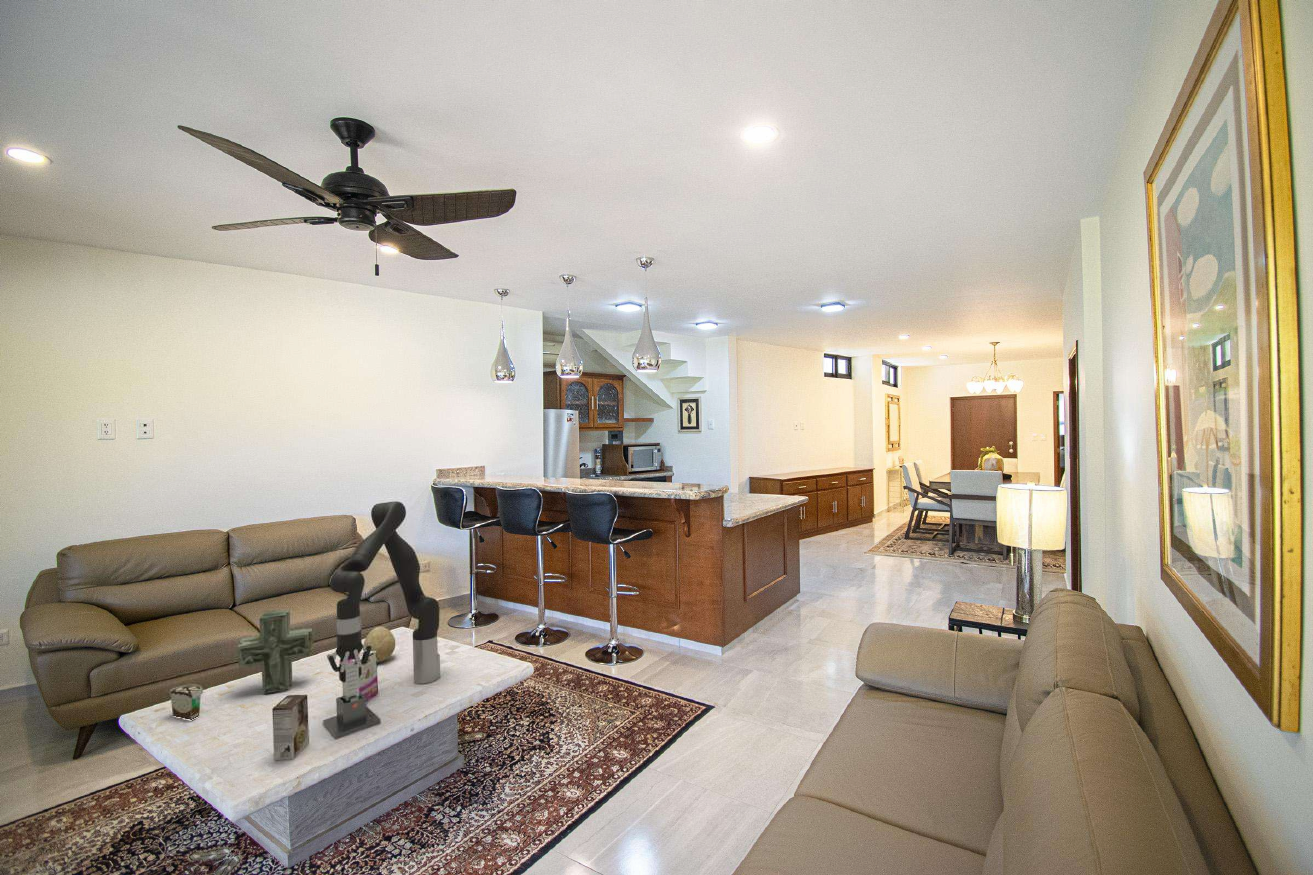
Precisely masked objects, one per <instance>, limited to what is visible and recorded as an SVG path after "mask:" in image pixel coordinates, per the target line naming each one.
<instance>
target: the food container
mask: <svg viewBox="0 0 1313 875" xmlns="http://www.w3.org/2000/svg"><path fill="white" fill-rule="evenodd" d="M202 694H204V690H203V687H202V686H201V685H200V684H196V683H193V684H184V685H180V686H177V687H175V686H174V687H173V688H170V689H169V694H168V695H170V702H171V709H172V710H171V711H172V712H171V713H172V717H173V716H176V717H181V718H185V719H190V720H192V719H194V718H196V717H198V718H199V717H200V713H201V712H200V710H201V695H202ZM196 719H197V718H196ZM194 720H195V719H194ZM192 721H193V720H192Z"/></svg>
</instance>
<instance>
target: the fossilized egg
mask: <svg viewBox="0 0 1313 875" xmlns="http://www.w3.org/2000/svg"><path fill="white" fill-rule="evenodd" d="M367 644H368V645H370V646H371V651H376V655H377V663H382V662H384V661H387V660H388V659H389V658H390V657H391V656H392V655H393V653H394V651H395V650H396V638H395V636H394V634H393V632H392V631H390V630H389V629H388V628H387V627H384V626H377V627H374V628H373V629H372V630H371V631H369V633H368V634H367V635H366V637H365V639H364V640H363V645H367Z"/></svg>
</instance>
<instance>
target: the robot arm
mask: <svg viewBox="0 0 1313 875" xmlns="http://www.w3.org/2000/svg"><path fill="white" fill-rule="evenodd" d="M370 511H371V512H370V515H371V516H370V517H371V520H372V523H373V526H374V528H375V530H373V532H371V534H369V535H368V536H366V537H365V538H364V539H363V540H361V542H360V543H359V544H358V546H357V547H356V548H355V550H354V551H353V552H352V554H351V556H350V557H349V559H348V560H346V561H345V562H344V563H343V564H342V565H341V566H339V567H338V568H337V569H336V571H334V572H333V574H332V576H331V577H330V581H329V587H330V589H331V590H332V591H333V592H335V593H348V594H347V597H346V598H343V599H340V600H338V601H337V603H336V625H335V626H336V649H335V652H332V653H331V654H329V653H328V654H327V655H326V658H327V660H328V663H329V664H330V667H331V669H332V670H333V671H334V673H337V672H338V679H339V681H341V683H342V682H343V683H344V682H345V671H344V670H345V666H346V664H347V661H349V660H350V659H354V661H355V662H356V663H358V668H359V678H360V676H361V674H362V670H361V667H362V665H363V664H366V663H367V661H368V658H369V654H370V651H371V646H370V645H368V644H367V645H364V643H363V642H362V640H363V638H362V619H361V607H360V606H361V603H360V602H361V599H362V596H363V592H364V586H365V581H366V580H365V577H364V575H363V574H362V572H366V571H367V570H368V569H369V568H370V566H371V564H372V563H373V561H374V559H375V558H376V556H377V554H378V552H380V550H381V548H382V547H383V546H384V547H385V549H386V553H387V554H388V557H389V559H390V563H391V565H392V568H393V570H394V573H395V576H396V577H397V580H398V583H399V586H400V588H401V590H402V593H403V596H404V600H405V604H406V609H407V612H408V614H409V615H410V617H412V618H413V619H416V620H417V621H418V624H417V628H415V629H413V631H412V658H413V659H412V660H413V661H412V662H413V664H412V665H413V667H412V668H413V682H414V683H415V684H418V685H419V684H420V685H421V684H430V683H432V682H435V681H437V680H438V679H440V678H441V654H440V653H439V651H438V647H439V646H438V631H439V627H440V604H439V602H438V600H437V599H436V598H435V597H434V598H433V597H430V596H427V595H426V594H425V593H424V591H423V589H422V586H421V584H420V574H421V573H420V572H421V564H420V562H419V559H418V556H417V553H416V551H415V550H414V548H413V547H412V546H411V545H410V544H409V543H408V542H407V541H406V540H405V539H403V538H402V536H401V535H399V534H398V532H397V529H398V528H399V527H400V526H401V525H402V523H403V522H404V520H405V519H406V515H407V508H406V507H405V505H404V504H403V502H400V501H386V502H380V503H376V504H374V505H373V507H372V509H371V510H370ZM362 651H363V652H364V653H363V652H362ZM361 653H363V656H362V659H361V661H360V657H359V654H361ZM337 656H338V658H339V665H338V664H337V663H336V661H335V660H336V659H337Z"/></svg>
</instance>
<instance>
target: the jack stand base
mask: <svg viewBox="0 0 1313 875" xmlns="http://www.w3.org/2000/svg"><path fill="white" fill-rule="evenodd" d="M359 696H360V698H359V699H358V696H357V697H354V698H350V702H347V703H344V702H343V698H342V697H343V695H342V696H338V697H336V700H335V701H336V703H335V704H336V705H335V706H336V715H334V716H331V717H328V718H326V719H322V724H323V726H324V727H325V729H327V731H328V732H329V733H330V735H332V737H333V738H334V739H335V740H338V739H341V738H343V737H346V736H349V735H352V734H355V733H357V732H360V731H363V730H366V729H368V728H371V727H375V726H377V725H380V724H381V721H382V720H381V718H380V717H379V716H378V715H377V714H376V713H374V711H373V710H372V709H370V708H369V707H368V706H367V701H366V697H365V696H364V695H363V694H361V693H360V692H359Z"/></svg>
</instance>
